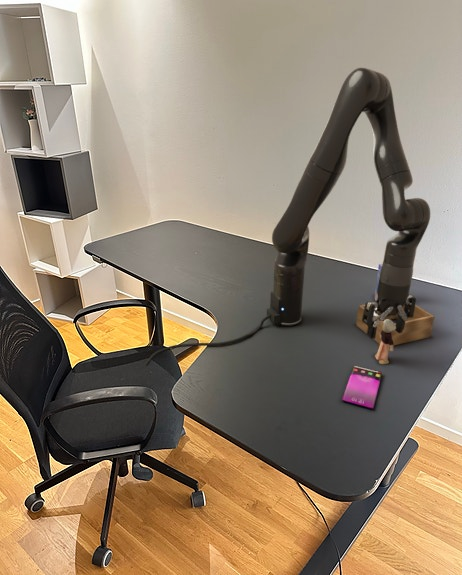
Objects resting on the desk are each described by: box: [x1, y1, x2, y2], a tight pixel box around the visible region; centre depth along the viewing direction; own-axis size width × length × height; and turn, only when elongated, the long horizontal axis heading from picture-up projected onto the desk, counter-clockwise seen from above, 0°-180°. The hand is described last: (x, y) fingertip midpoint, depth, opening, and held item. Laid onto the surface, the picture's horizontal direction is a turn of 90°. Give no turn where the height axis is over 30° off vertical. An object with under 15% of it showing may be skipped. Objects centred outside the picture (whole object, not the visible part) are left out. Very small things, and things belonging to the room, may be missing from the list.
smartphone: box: [341, 365, 383, 410], centre depth 109 cm, size 7×15×1 cm, turn 155°
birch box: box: [355, 304, 435, 347], centre depth 133 cm, size 17×14×7 cm
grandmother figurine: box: [374, 319, 396, 365], centre depth 117 cm, size 8×4×13 cm, turn 15°
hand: (384, 334), depth 116 cm, fingers open, 8 cm apart
